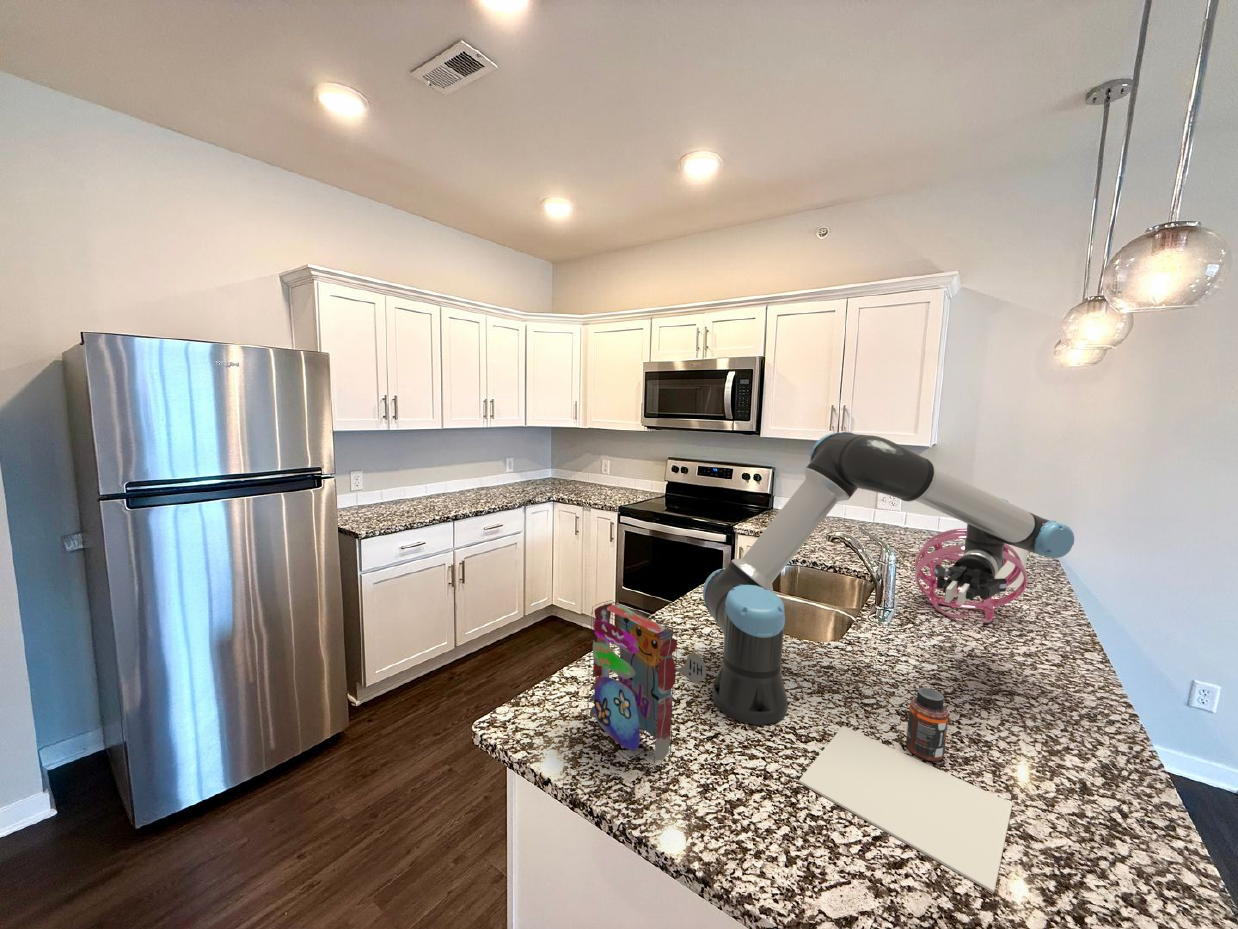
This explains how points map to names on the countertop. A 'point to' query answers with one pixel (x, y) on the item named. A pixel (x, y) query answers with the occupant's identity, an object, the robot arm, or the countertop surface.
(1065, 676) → the countertop surface
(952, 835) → the mat
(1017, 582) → the cup
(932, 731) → the supplement bottle
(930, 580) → the spiral basket
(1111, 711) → the countertop surface
